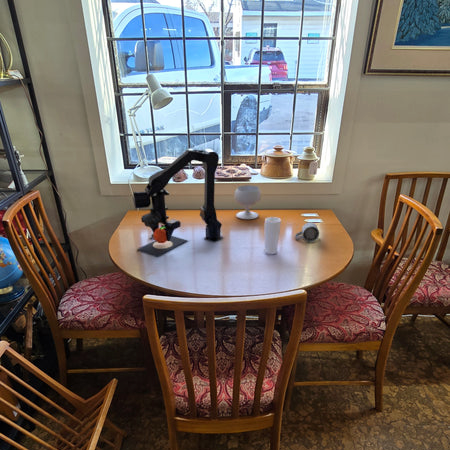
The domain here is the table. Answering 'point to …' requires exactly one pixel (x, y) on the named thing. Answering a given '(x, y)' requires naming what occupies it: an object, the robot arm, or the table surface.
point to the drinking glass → (272, 234)
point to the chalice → (247, 200)
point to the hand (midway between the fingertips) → (162, 239)
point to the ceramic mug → (308, 232)
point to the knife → (153, 233)
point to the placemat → (161, 246)
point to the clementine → (160, 235)
